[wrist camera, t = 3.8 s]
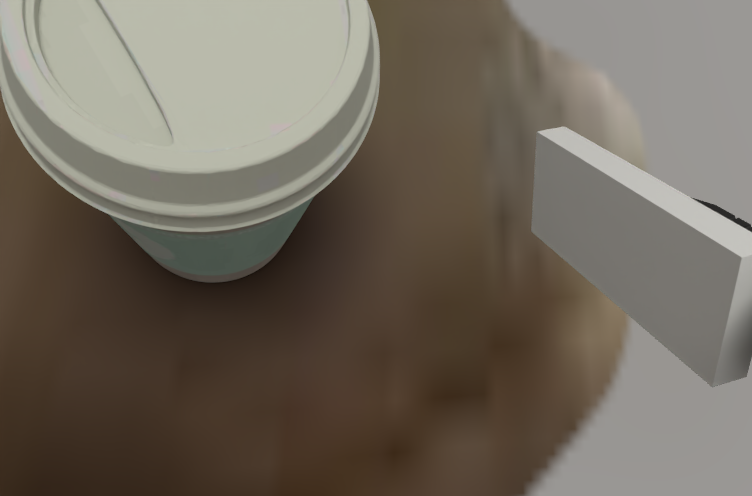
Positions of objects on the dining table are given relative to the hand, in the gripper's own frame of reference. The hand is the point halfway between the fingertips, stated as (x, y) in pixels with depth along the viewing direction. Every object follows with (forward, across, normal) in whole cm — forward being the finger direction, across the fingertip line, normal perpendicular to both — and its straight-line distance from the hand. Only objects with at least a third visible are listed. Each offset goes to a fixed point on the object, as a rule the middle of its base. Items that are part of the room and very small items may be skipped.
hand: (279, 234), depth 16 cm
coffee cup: (+10, -1, -4) cm, 11 cm away
